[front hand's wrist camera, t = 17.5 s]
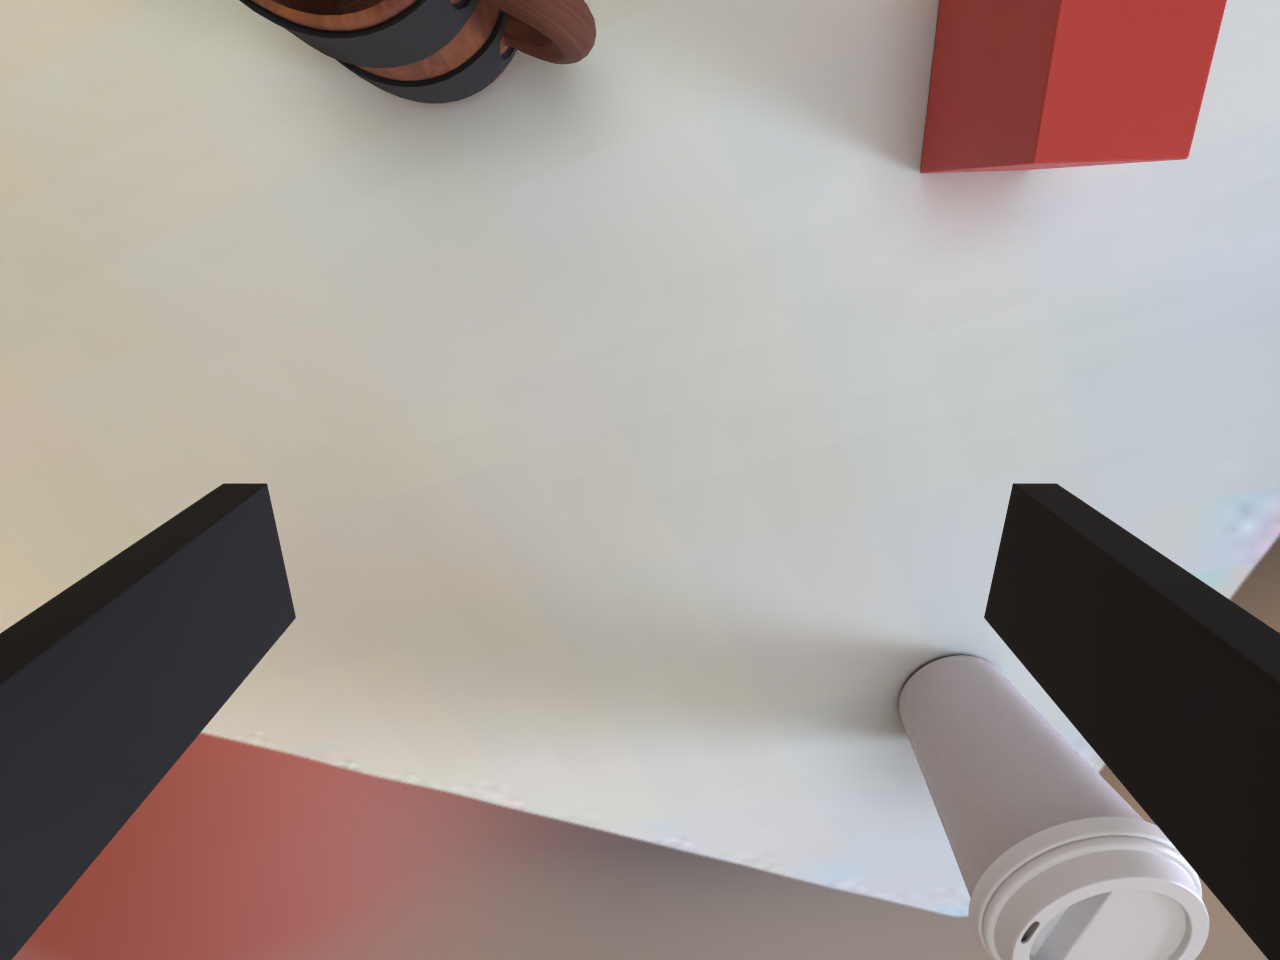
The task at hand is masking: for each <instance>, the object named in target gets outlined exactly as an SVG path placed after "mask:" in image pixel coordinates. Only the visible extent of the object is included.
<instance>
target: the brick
mask: <svg viewBox="0 0 1280 960" xmlns="http://www.w3.org/2000/svg"><path fill="white" fill-rule="evenodd" d="M1226 1H1227V0H940V2H939V11H938V20H937V29H936V38H935V47H934V56H933V64H932V73H931V82H930V91H929V100H928V109H927V118H926V126H925V135H924V144H923V153H922V162H921V171H920V172H921V173H940V172H971V171H1002V170H1032V169H1046V168H1061V167H1076V166H1091V165H1106V164H1121V163H1135V162H1150V161H1165V160H1180V159H1187V158H1188V156H1189V152H1190V148H1191V144H1192V140H1193V136H1194V132H1195V128H1196V123H1197V119H1198V115H1199V111H1200V107H1201V103H1202V99H1203V95H1204V91H1205V87H1206V83H1207V79H1208V75H1209V70H1210V66H1211V62H1212V58H1213V54H1214V50H1215V46H1216V42H1217V38H1218V34H1219V30H1220V26H1221V21H1222V17H1223V13H1224V9H1225V5H1226Z"/></svg>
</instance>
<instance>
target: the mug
mask: <svg viewBox="0 0 1280 960" xmlns="http://www.w3.org/2000/svg"><path fill="white" fill-rule="evenodd" d="M240 1H241V2H242V3H244V4H245V5H246V6H248V7H249V8H250V9H252V10H253V11H255V12H256V13H258V14H260V15H261V16H263V17H265V18H267V19H268V20H270V21H272V22H273V23H275V24H277V25H279V26H281V27H283V28H285V29H286V30H288V31H289V32H291V33H292V34H294V35H295V36H297V37H298V38H300V39H301V40H303V41H304V42H305V43H307V44H308V45H310V46H311V47H313V48H315V49H317V50H318V51H320V52H322V53H323V54H325V55H327V56H330V57H332V58H335V59H336V60H337V61H339V62H340V63H341V64H343V65H344V66H345V67H347V68H348V69H349V70H351V71H352V72H354V73H355V74H356V75H358V76H359V77H361V78H363V79H364V80H366V81H368V82H369V83H371V84H373V85H375V86H376V87H378V88H380V89H382V90H384V91H386V92H389V93H391V94H394V95H396V96H399V97H402V98H405V99H409V100H413V101H416V102H424V103H447V102H452V101H457V100H460V99H463V98H466V97H469V96H471V95H473V94H475V93H477V92H479V91H481V90H482V89H484V88H485V87H487V86H488V85H489V84H491V83H492V82H493V81H494V80H495V79H496V78H497V77H498V76H499V75H500V74H501V73H502V72H503V70H504V69H505V68H506V66H507V65H508V64H509V62H510V61H511V60H512V58H513V56H514V54H515V52H516V51H517V50H519V51H522V52H524V53H526V54H528V55H530V56H533V57H536V58H538V59H542V60H545V61H548V62H551V63H556V64H570V63H576V62H578V61H580V60H581V59H583V58H584V57H586V56H587V55H588V54H589V52H590V50H591V49H592V47H593V46H594V43H595V37H596V28H595V20H594V18H593V16H592V14H591V12H590V10H589V8H588V6H587V4H586V3H585V2H584V0H240Z"/></svg>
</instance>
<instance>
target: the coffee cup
mask: <svg viewBox="0 0 1280 960" xmlns="http://www.w3.org/2000/svg"><path fill="white" fill-rule="evenodd" d="M899 713H900V717H901V720H902V722H903V725H904V727H905V730H906V732H907V735H908V738H909V740H910V743H911V745H912V748H913V750H914V753H915V755H916V758H917V760H918V763H919V766H920V768H921V771H922V773H923V776H924V778H925V781H926V784H927V786H928V789H929V791H930V794H931V796H932V799H933V801H934V804H935V807H936V809H937V812H938V814H939V817H940V819H941V822H942V825H943V827H944V830H945V832H946V835H947V837H948V840H949V843H950V845H951V848H952V850H953V853H954V856H955V858H956V861H957V863H958V866H959V869H960V871H961V874H962V876H963V879H964V882H965V884H966V887H967V890H968V892H969V895H970V898H971V899H970V904H969V921H970V925H971V928H972V931H973V933H974V935H975V937H976V938H977V940H978V941H979V943H980V944H981V945H982V946H983V948H984V949H985V950H986V951H987V953H988V954H989V955H990V956H991V957H992V958H993V959H994V960H1195V958H1196V957H1197V956H1198V954H1199V953H1200V951H1201V950H1202V948H1203V946H1204V944H1205V942H1206V939H1207V936H1208V932H1209V917H1208V913H1207V910H1206V907H1205V905H1204V903H1203V901H1202V890H1201V884H1200V881H1199V878H1198V875H1197V873H1196V872H1195V871H1194V869H1193V868H1192V867H1191V866H1190V865H1189V863H1188V862H1187V861H1186V860H1185V859H1184V857H1183V856H1182V855H1181V854H1180V853H1179V851H1178V850H1177V849H1176V848H1175V847H1174V845H1173V844H1172V843H1171V842H1170V841H1169V839H1168V838H1167V837H1166V836H1165V835H1164V833H1163V832H1162V831H1161V830H1160V829H1159V827H1158V826H1156V825H1154V824H1151V823H1148V822H1145V821H1144V820H1143V819H1142V818H1141V817H1140V816H1139V815H1138V814H1137V813H1136V812H1135V811H1134V810H1133V809H1132V808H1131V807H1130V806H1129V805H1128V803H1126V802H1125V800H1124V799H1123V798H1122V797H1121V796H1120V795H1119V794H1118V793H1117V792H1116V791H1115V790H1114V789H1113V788H1112V787H1111V786H1110V785H1109V784H1108V783H1107V782H1106V781H1105V780H1104V779H1103V778H1102V777H1101V776H1100V775H1099V774H1098V773H1097V772H1096V771H1095V770H1094V769H1093V768H1092V766H1091V765H1090V764H1089V763H1088V762H1087V761H1086V760H1085V759H1084V758H1083V757H1082V756H1081V755H1080V754H1079V753H1078V752H1077V751H1076V750H1075V749H1074V748H1073V747H1072V746H1071V745H1070V744H1069V743H1068V742H1067V741H1066V740H1065V739H1064V737H1063V736H1062V735H1061V734H1060V733H1059V732H1058V731H1057V730H1056V729H1055V728H1054V727H1053V726H1052V725H1051V724H1050V723H1049V722H1048V721H1047V720H1046V719H1045V718H1044V717H1043V716H1042V715H1041V714H1040V713H1039V712H1038V711H1037V709H1036V708H1035V707H1034V706H1033V705H1032V704H1031V703H1030V702H1029V701H1028V700H1027V699H1026V698H1025V697H1024V696H1023V695H1022V694H1021V693H1020V692H1019V691H1018V690H1017V689H1016V688H1015V687H1014V686H1013V684H1012V683H1011V682H1010V681H1009V680H1008V679H1007V678H1006V677H1005V676H1004V675H1003V674H1002V673H1001V672H1000V671H999V670H998V669H997V668H996V667H995V666H994V665H992V664H991V663H989V662H988V661H986V660H984V659H981V658H978V657H974V656H966V655H958V656H950V657H945V658H941V659H938V660H936V661H933V662H931V663H929V664H927V665H926V666H924V667H922V668H921V669H920V670H918V671H917V672H916V673H915V674H914V675H913V676H912V677H911V678H910V679H909V680H908V681H907V683H906V684H905V686H904V688H903V690H902V692H901V695H900V698H899Z"/></svg>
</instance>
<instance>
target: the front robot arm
mask: <svg viewBox="0 0 1280 960" xmlns="http://www.w3.org/2000/svg"><path fill="white" fill-rule="evenodd" d="M295 618H296V616H295V612H294V607H293V602H292V598H291V593H290V588H289V584H288V579H287V574H286V570H285V565H284V561H283V556H282V551H281V547H280V542H279V537H278V533H277V528H276V523H275V519H274V514H273V509H272V505H271V500H270V496H269V491H268V486H267V484H222V485H221V486H219V487H218V488H216V489H215V490H213V491H212V492H210V493H209V494H207V495H206V496H204V497H203V498H201V499H200V500H198V501H197V502H195V503H194V504H192V505H191V506H189V507H188V508H186V509H185V510H183V511H182V512H181V513H179V514H178V515H176V516H175V517H173V518H172V519H170V520H169V521H167V522H166V523H164V524H163V525H161V526H160V527H158V528H157V529H155V530H154V531H152V532H151V533H149V534H148V535H146V536H145V537H143V538H142V539H140V540H139V541H137V542H136V543H134V544H133V545H131V546H130V547H128V548H127V549H125V550H124V551H122V552H121V553H120V554H118V555H117V556H115V557H114V558H112V559H111V560H109V561H108V562H106V563H105V564H103V565H102V566H100V567H99V568H97V569H96V570H94V571H93V572H91V573H90V574H88V575H87V576H85V577H84V578H82V579H81V580H79V581H78V582H76V583H75V584H73V585H72V586H70V587H69V588H67V589H66V590H64V591H63V592H61V593H60V594H59V595H57V596H56V597H54V598H53V599H51V600H50V601H48V602H47V603H45V604H44V605H42V606H41V607H39V608H38V609H36V610H35V611H33V612H32V613H30V614H29V615H27V616H26V617H24V618H23V619H21V620H20V621H18V622H17V623H15V624H14V625H12V626H11V627H9V628H8V629H6V630H5V631H3V632H2V633H0V960H12V958H13V957H14V956H15V955H16V954H17V952H18V951H19V950H20V949H21V948H22V946H23V945H24V944H25V943H26V942H27V940H28V939H29V938H30V937H31V936H32V934H33V933H34V932H35V931H36V930H37V928H38V927H39V926H40V925H41V924H42V922H43V921H44V920H45V919H46V918H47V916H48V915H49V914H50V913H51V912H52V910H53V909H54V908H55V907H56V906H57V904H58V903H59V902H60V901H61V900H62V898H63V897H64V896H65V895H66V893H67V892H68V891H69V890H70V889H71V887H72V886H73V885H74V884H75V883H76V881H77V880H78V879H79V878H80V877H81V875H82V874H83V873H84V872H85V871H86V869H87V868H88V867H89V866H90V865H91V863H92V862H93V861H94V860H95V859H96V857H97V856H98V855H99V854H100V853H101V851H102V850H103V849H104V848H105V847H106V845H107V844H108V843H109V842H110V841H111V839H112V838H113V837H114V836H115V835H116V833H117V832H118V831H119V830H120V829H121V827H122V826H123V825H124V824H125V823H126V821H127V820H128V819H129V818H130V817H131V815H132V814H133V813H134V812H135V811H136V809H137V808H138V807H139V806H140V805H141V803H142V802H143V801H144V800H145V798H146V797H147V796H148V795H149V794H150V792H151V791H152V790H153V789H154V788H155V786H156V785H157V784H158V783H159V782H160V780H161V779H162V778H163V777H164V776H165V774H166V773H167V772H168V771H169V770H170V768H171V767H172V766H173V765H174V764H175V762H176V761H177V760H178V759H179V758H180V756H181V755H182V754H183V753H184V752H185V750H186V749H187V748H188V747H189V746H190V744H191V743H192V742H193V741H194V740H195V738H196V737H197V736H198V735H199V734H200V732H201V731H202V730H203V729H204V728H205V726H206V725H207V724H208V723H209V722H210V720H211V719H212V718H213V717H214V716H215V714H216V713H217V712H218V711H219V709H220V708H221V707H222V706H223V705H224V703H225V702H226V701H227V700H228V699H229V697H230V696H231V695H232V694H233V693H234V691H235V690H236V689H237V688H238V687H239V685H240V684H241V683H242V682H243V681H244V679H245V678H246V677H247V676H248V675H249V673H250V672H251V671H252V670H253V669H254V667H255V666H256V665H257V664H258V663H259V661H260V660H261V659H262V658H263V657H264V655H265V654H266V653H267V652H268V651H269V649H270V648H271V647H272V646H273V645H274V643H275V642H276V641H277V640H278V639H279V637H280V636H281V635H282V634H283V633H284V631H285V630H286V629H287V628H288V626H289V625H290V624H291V623H292V622H293V620H294V619H295ZM984 618H985V619H986V620H987V622H988V623H989V624H990V625H991V626H992V628H993V629H994V630H995V631H996V633H997V634H998V635H999V636H1000V637H1001V639H1002V640H1003V641H1004V642H1005V643H1006V645H1007V646H1008V647H1009V648H1010V649H1011V651H1012V652H1013V653H1014V654H1015V655H1016V657H1017V658H1018V659H1019V660H1020V661H1021V663H1022V664H1023V665H1024V666H1025V667H1026V669H1027V670H1028V671H1029V672H1030V673H1031V675H1032V676H1033V677H1034V678H1035V679H1036V681H1037V682H1038V683H1039V684H1040V685H1041V687H1042V688H1043V689H1044V690H1045V691H1046V693H1047V694H1048V695H1049V696H1050V697H1051V699H1052V700H1053V701H1054V702H1055V703H1056V705H1057V706H1058V707H1059V708H1060V709H1061V711H1062V712H1063V713H1064V714H1065V715H1066V717H1067V718H1068V719H1069V720H1070V722H1071V723H1072V724H1073V725H1074V726H1075V728H1076V729H1077V730H1078V731H1079V732H1080V734H1081V735H1082V736H1083V737H1084V738H1085V740H1086V741H1087V742H1088V743H1089V744H1090V746H1091V747H1092V748H1093V749H1094V750H1095V752H1096V753H1097V754H1098V755H1099V756H1100V758H1101V759H1102V760H1103V761H1104V762H1105V764H1106V765H1107V766H1108V767H1109V768H1110V770H1111V771H1112V772H1113V773H1114V774H1115V776H1116V777H1117V778H1118V779H1119V780H1120V782H1121V783H1122V784H1123V785H1124V786H1125V788H1126V789H1127V790H1128V791H1129V792H1130V794H1131V795H1132V796H1133V797H1134V798H1135V800H1136V801H1137V802H1138V803H1139V804H1140V806H1141V807H1142V808H1143V809H1144V811H1145V812H1146V813H1147V814H1148V815H1149V817H1150V818H1151V819H1152V820H1153V821H1154V823H1155V824H1156V825H1157V826H1158V827H1159V829H1160V830H1161V831H1162V832H1163V833H1164V835H1165V836H1166V837H1167V838H1168V839H1169V841H1170V842H1171V843H1172V844H1173V845H1174V847H1175V848H1176V849H1177V850H1178V851H1179V853H1180V854H1181V855H1182V856H1183V857H1184V859H1185V860H1186V861H1187V862H1188V863H1189V865H1190V866H1191V867H1192V868H1193V869H1194V871H1195V872H1196V873H1197V874H1198V875H1199V877H1200V878H1201V879H1202V880H1203V881H1204V883H1205V884H1206V885H1207V886H1208V888H1209V889H1210V890H1211V891H1212V892H1213V894H1214V895H1215V896H1216V897H1217V898H1218V900H1219V901H1220V902H1221V903H1222V904H1223V906H1224V907H1225V908H1226V909H1227V910H1228V912H1229V913H1230V914H1231V915H1232V916H1233V918H1234V919H1235V920H1236V921H1237V922H1238V924H1239V925H1240V926H1241V927H1242V928H1243V930H1244V931H1245V932H1246V933H1247V934H1248V936H1249V937H1250V938H1251V939H1252V940H1253V942H1254V943H1255V944H1256V945H1257V946H1258V948H1259V949H1260V950H1261V951H1262V952H1263V954H1264V955H1265V956H1266V957H1267V958H1268V960H1280V633H1279V632H1277V631H1275V630H1273V629H1272V628H1271V627H1269V626H1268V625H1266V624H1265V623H1263V622H1262V621H1260V620H1259V619H1257V618H1256V617H1254V616H1253V615H1251V614H1250V613H1248V612H1247V611H1245V610H1244V609H1242V608H1241V607H1239V606H1238V605H1236V604H1235V603H1233V602H1232V601H1230V600H1229V599H1227V598H1226V597H1224V596H1223V595H1221V594H1220V593H1219V592H1217V591H1216V590H1214V589H1213V588H1211V587H1210V586H1208V585H1207V584H1205V583H1204V582H1202V581H1201V580H1199V579H1198V578H1196V577H1195V576H1193V575H1192V574H1190V573H1189V572H1187V571H1186V570H1184V569H1183V568H1181V567H1180V566H1178V565H1177V564H1175V563H1174V562H1172V561H1171V560H1169V559H1168V558H1166V557H1165V556H1163V555H1162V554H1160V553H1159V552H1158V551H1156V550H1155V549H1153V548H1152V547H1150V546H1149V545H1147V544H1146V543H1144V542H1143V541H1141V540H1140V539H1138V538H1137V537H1135V536H1134V535H1132V534H1131V533H1129V532H1128V531H1126V530H1125V529H1123V528H1122V527H1120V526H1119V525H1117V524H1116V523H1114V522H1113V521H1111V520H1110V519H1108V518H1107V517H1105V516H1104V515H1102V514H1101V513H1099V512H1098V511H1097V510H1095V509H1094V508H1092V507H1091V506H1089V505H1088V504H1086V503H1085V502H1083V501H1082V500H1080V499H1079V498H1077V497H1076V496H1074V495H1073V494H1071V493H1070V492H1068V491H1067V490H1065V489H1064V488H1062V487H1061V486H1059V485H1058V484H1013V486H1012V491H1011V496H1010V500H1009V505H1008V509H1007V514H1006V519H1005V523H1004V528H1003V533H1002V537H1001V542H1000V547H999V551H998V556H997V561H996V565H995V570H994V574H993V579H992V584H991V588H990V593H989V598H988V602H987V607H986V612H985V616H984Z"/></svg>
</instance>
